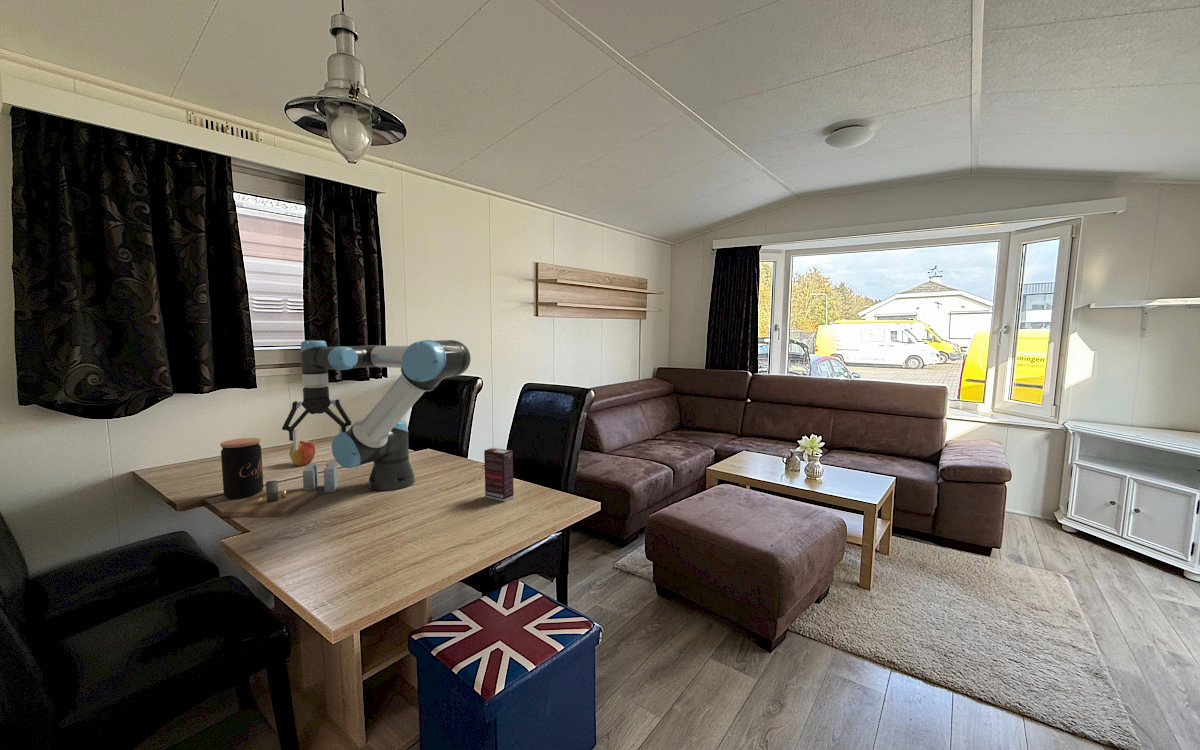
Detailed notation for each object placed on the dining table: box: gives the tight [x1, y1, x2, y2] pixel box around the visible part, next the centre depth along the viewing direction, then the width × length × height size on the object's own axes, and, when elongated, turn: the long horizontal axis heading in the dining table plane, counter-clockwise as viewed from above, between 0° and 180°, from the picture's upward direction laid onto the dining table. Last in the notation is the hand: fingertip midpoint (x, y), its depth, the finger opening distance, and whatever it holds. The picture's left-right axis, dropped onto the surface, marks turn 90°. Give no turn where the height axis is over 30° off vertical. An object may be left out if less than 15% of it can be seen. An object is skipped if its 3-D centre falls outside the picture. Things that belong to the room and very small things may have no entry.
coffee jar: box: [219, 437, 264, 500], centre depth 158 cm, size 11×11×18 cm
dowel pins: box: [258, 490, 287, 505], centre depth 149 cm, size 8×1×2 cm, turn 153°
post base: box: [221, 479, 319, 518], centre depth 149 cm, size 18×18×8 cm
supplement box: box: [483, 447, 515, 502], centre depth 156 cm, size 9×5×16 cm, turn 60°
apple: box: [288, 440, 316, 467], centre depth 194 cm, size 9×9×10 cm
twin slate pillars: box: [302, 461, 339, 494], centre depth 164 cm, size 9×9×8 cm
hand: (319, 448), depth 163 cm, fingers open, 13 cm apart
